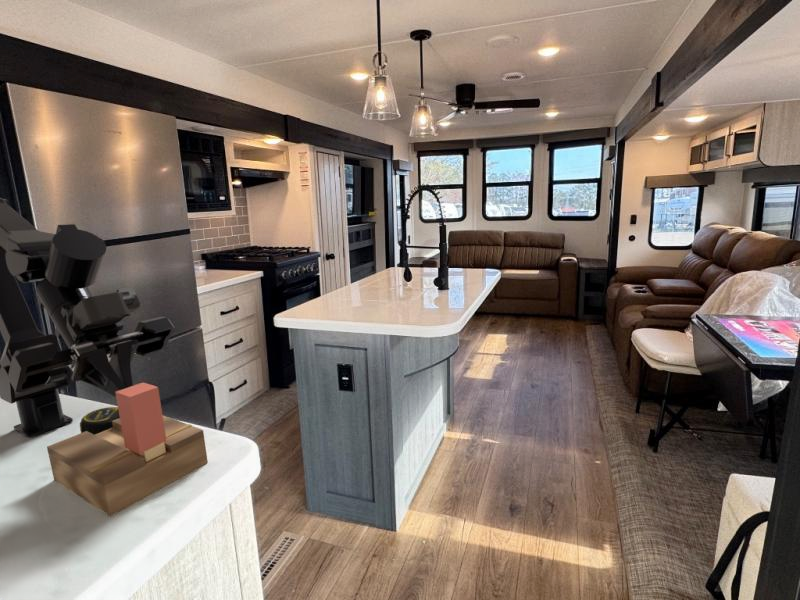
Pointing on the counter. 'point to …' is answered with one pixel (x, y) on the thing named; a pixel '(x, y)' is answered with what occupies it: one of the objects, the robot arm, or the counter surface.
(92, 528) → the counter surface
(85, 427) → the tape measure
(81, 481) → the grooved wooden block
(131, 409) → the red tall block
